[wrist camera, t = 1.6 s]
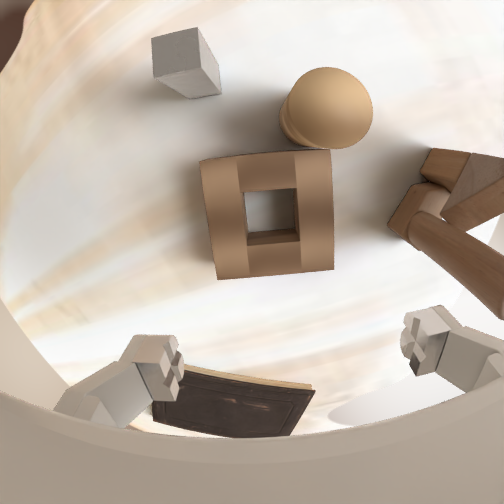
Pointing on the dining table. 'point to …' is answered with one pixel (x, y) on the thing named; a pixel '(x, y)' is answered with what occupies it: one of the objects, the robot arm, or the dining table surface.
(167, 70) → the brushed metal bar
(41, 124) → the dining table surface
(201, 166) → the socket block
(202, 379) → the hardcover book
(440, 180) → the wooden block
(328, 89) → the oak dowel
